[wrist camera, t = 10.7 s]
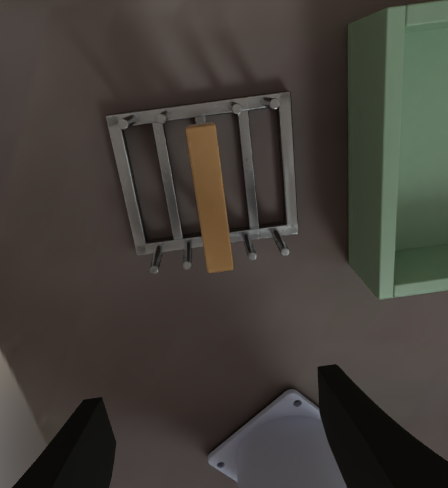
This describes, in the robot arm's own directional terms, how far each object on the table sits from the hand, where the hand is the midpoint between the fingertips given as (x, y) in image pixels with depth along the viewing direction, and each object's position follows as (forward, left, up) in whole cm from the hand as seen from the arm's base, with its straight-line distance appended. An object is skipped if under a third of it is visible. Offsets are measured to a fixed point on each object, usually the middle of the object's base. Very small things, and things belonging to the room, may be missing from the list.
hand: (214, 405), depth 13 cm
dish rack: (+4, -4, -9) cm, 11 cm away
